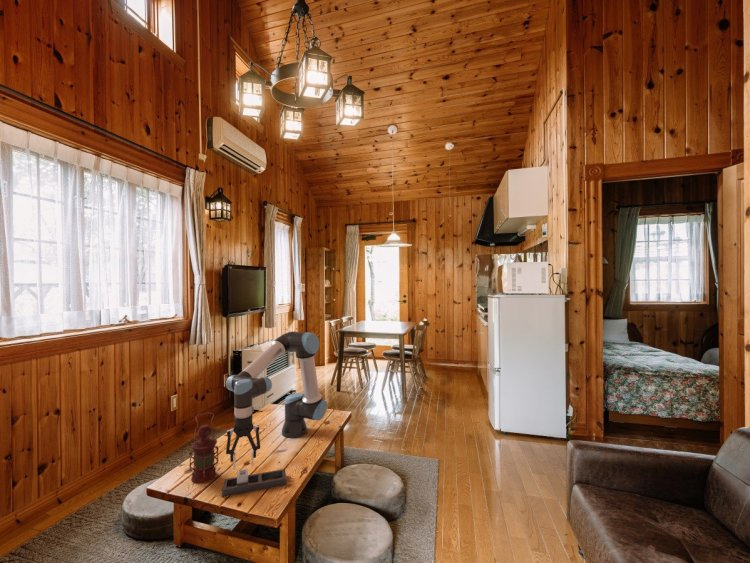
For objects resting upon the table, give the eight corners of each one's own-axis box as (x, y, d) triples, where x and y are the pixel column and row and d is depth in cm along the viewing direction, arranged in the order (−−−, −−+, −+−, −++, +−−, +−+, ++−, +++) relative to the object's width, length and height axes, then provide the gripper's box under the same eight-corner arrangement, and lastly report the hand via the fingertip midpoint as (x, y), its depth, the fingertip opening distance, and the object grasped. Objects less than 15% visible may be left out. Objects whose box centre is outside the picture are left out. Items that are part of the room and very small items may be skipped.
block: (248, 484, 150) (248, 468, 150) (247, 490, 146) (248, 473, 146) (237, 486, 148) (237, 469, 148) (236, 492, 144) (237, 475, 144)
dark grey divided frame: (284, 475, 157) (285, 468, 157) (286, 485, 149) (286, 478, 149) (224, 486, 148) (224, 479, 148) (222, 497, 140) (222, 490, 141)
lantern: (188, 487, 147) (189, 420, 148) (189, 473, 158) (190, 410, 159) (218, 480, 153) (219, 415, 153) (217, 467, 164) (218, 406, 164)
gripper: (266, 409, 154) (266, 458, 154) (220, 415, 148) (220, 466, 148) (266, 415, 147) (267, 466, 147) (218, 421, 141) (218, 475, 141)
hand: (243, 466), depth 148 cm, fingers open, 7 cm apart
